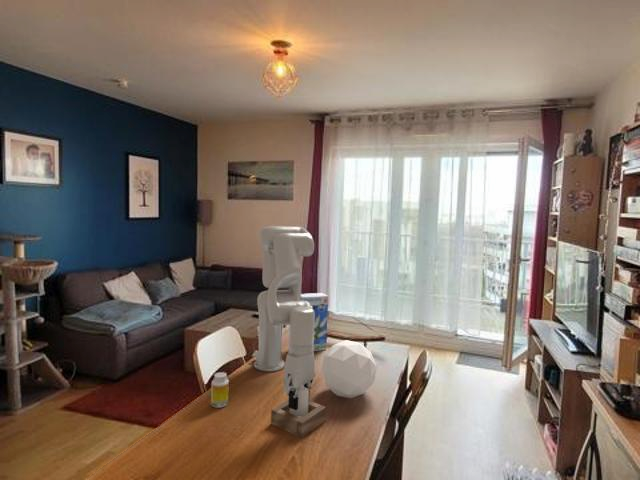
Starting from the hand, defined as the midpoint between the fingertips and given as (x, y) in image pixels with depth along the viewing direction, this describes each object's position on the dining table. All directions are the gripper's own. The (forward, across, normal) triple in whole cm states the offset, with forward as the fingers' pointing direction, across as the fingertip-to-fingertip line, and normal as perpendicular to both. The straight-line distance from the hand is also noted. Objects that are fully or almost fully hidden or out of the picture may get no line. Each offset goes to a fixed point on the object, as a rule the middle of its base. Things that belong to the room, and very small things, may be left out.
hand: (298, 404), depth 123 cm
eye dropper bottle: (+3, 0, 0) cm, 3 cm away
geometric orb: (+6, -26, +2) cm, 27 cm away
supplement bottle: (+6, +8, -27) cm, 29 cm away
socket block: (+6, 0, 0) cm, 6 cm away
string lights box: (+6, -53, -35) cm, 64 cm away
